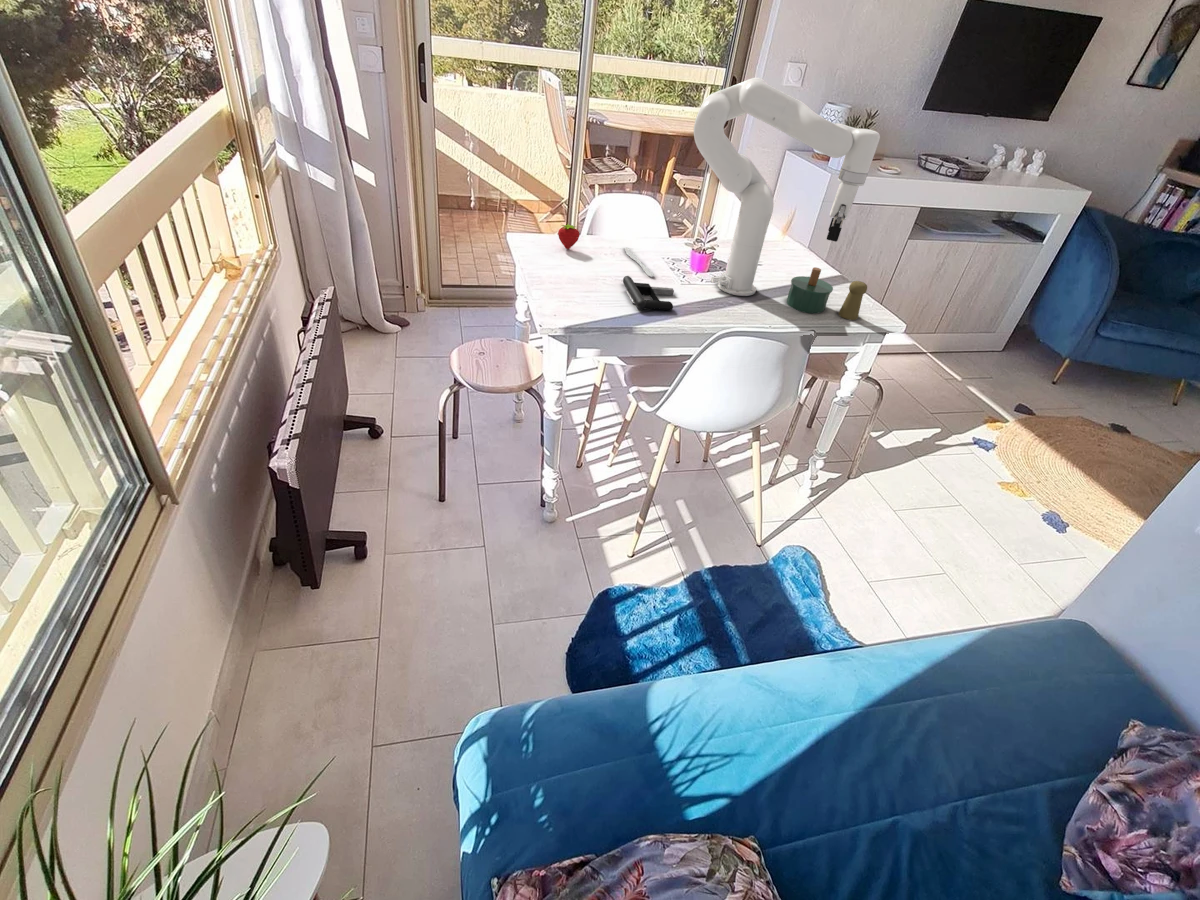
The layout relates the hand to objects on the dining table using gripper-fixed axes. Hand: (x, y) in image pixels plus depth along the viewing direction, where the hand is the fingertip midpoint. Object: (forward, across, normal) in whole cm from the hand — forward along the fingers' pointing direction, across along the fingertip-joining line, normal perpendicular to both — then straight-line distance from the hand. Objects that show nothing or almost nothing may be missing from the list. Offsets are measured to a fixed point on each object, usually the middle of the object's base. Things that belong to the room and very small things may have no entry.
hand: (832, 236), depth 191 cm
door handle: (+22, +28, -47) cm, 59 cm away
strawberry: (+23, +3, -84) cm, 87 cm away
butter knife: (+22, 0, -59) cm, 63 cm away
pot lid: (+15, +4, -1) cm, 16 cm away
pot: (+22, +4, -1) cm, 22 cm away
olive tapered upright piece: (+22, +4, +12) cm, 25 cm away
